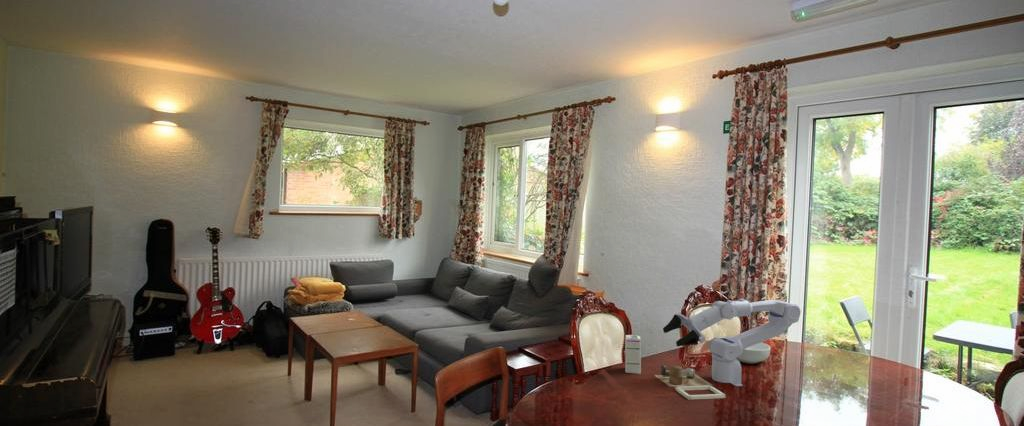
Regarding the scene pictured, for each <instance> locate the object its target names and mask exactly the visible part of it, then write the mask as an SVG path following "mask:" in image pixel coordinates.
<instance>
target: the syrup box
mask: <svg viewBox="0 0 1024 426" xmlns="http://www.w3.org/2000/svg"><path fill="white" fill-rule="evenodd" d="M641 344H642V339H641V336H640V335H638V334H637V335H636V334H625V337H624V345H625V347H624V359H625V360H624V362H625V363H624V367H625V369H624V371H625V373H627V374H628V373H629V374H638V375H639V374H640V375H641V372H642V367H641V366H642V365H641V364H642V361H641V360H642V353H641V352H642V347H641V346H642V345H641Z"/></svg>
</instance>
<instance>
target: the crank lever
mask: <svg viewBox="0 0 1024 426" xmlns="http://www.w3.org/2000/svg"><path fill="white" fill-rule="evenodd" d="M695 374H696V370H695V368H691V367H690V368H689V367H686V368H685V369H682V376H687V377H691V378H693V377H695ZM660 375H661V376H662V377H669V369H668V370H667V365H664V364H661V365H660Z"/></svg>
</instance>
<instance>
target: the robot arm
mask: <svg viewBox="0 0 1024 426" xmlns="http://www.w3.org/2000/svg"><path fill="white" fill-rule="evenodd" d="M801 311H802V310H801V308H800V306H799V304H796V303H792V302H791V303H790V302H786V301H783V300H781V299H767V300H760V301H754V302H749V301H748V300H746V299H744V298H739V299H738V300H730V299H729V300H728V299H727V301H721V300H717V301H716V300H715V301H714V302H713V303H711V306H710V307H708V308H706V309H704V310H702V311H700V312H699V313H696V314H695V315H692V316H685V315H683V314H682V313H680V312H677V313H675V314H674V315H673V316H672V318H671V320H670V321H669V322H668V324H666V325H665V326H664V327H663V328H662V330H663V331H662V332H663V333H664V334H667V333H669V332H671V331H674V330H677V329H682V326H684V327H685V329H687V330H688V332H689V333H687V334H686V335H684V336H683V337H681V338H678V339H677V340H676V341H675V342H676V343H675V344H676V346H677V347H678V348H679V347H683V346H688V345H689V346H691V345H693V346H697V345H699V343H700V344H702V343H704V342H706V336H705V335H704V334H703V333H702V332H703V331H704V330H705V329H707V328H709V327H712V326H713V325H716V324H717V323H720V322H721V321H722V320H733V319H734V318H739V317H747V316H751V313H753V312H754V313H755V312H757V313H758V312H768V315H767V316H768V317H767V321H768V322H766V323H764V324H761V325H759V326H756V327H754V328H751V329H749V330H746V331H744V332H741V333H738V334H736V335H733V336H722V337H713V338H712V339H710V341H709V343H708V351H709V352H710V353H711V357H712V358H711V359H712V360H711V379H712V380H713V381H715V382H718V383H724V384H725V383H726V384H729V383H730V384H732V385H733V386H736V387H743V384H742V364H741V361H739V360H738V359H736V358H737V357H738V356H739V355H741V354H742V350H743V349H745V348H748V347H750V346H753V345H755V344H758V343H761V342H762V343H764V342H765V341H767V340H771V339H773V338H776V337H778V336H781V335H783V334H784V333H785V332H786V331H787V330H788V329H790V327H791V326H792V325H794V324H795V323H798V322H799V321H800V320H799V319H800V317H801Z"/></svg>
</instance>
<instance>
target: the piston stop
mask: <svg viewBox="0 0 1024 426" xmlns="http://www.w3.org/2000/svg"><path fill="white" fill-rule="evenodd" d="M668 370H669V383H670V384H673V385H681V384H682V370H683V367H682V366H679V365H669V366H668Z"/></svg>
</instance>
